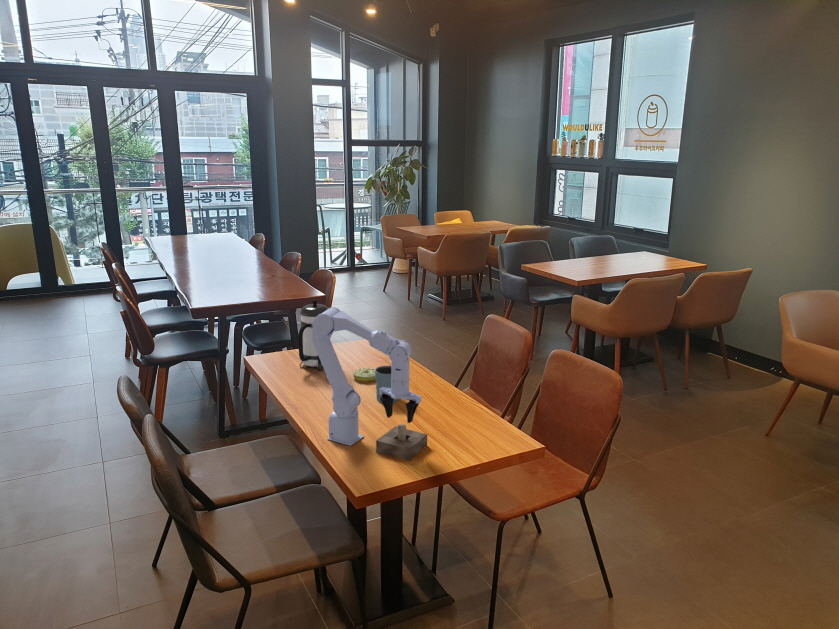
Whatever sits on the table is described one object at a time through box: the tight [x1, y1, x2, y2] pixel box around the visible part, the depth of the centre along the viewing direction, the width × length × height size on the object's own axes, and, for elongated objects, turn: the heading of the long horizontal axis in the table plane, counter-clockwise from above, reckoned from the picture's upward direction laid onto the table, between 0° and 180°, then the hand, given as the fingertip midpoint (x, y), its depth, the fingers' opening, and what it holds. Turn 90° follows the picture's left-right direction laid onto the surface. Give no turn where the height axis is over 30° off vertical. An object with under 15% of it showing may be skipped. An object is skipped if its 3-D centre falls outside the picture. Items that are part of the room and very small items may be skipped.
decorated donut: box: [353, 367, 376, 384], centre depth 263 cm, size 10×11×4 cm
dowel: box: [397, 423, 407, 441], centre depth 202 cm, size 3×3×8 cm
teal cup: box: [374, 365, 400, 404], centre depth 241 cm, size 10×10×12 cm
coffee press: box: [297, 299, 329, 372], centre depth 272 cm, size 17×16×30 cm
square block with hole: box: [375, 425, 428, 462], centre depth 203 cm, size 12×12×4 cm
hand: (399, 419), depth 203 cm, fingers open, 7 cm apart
